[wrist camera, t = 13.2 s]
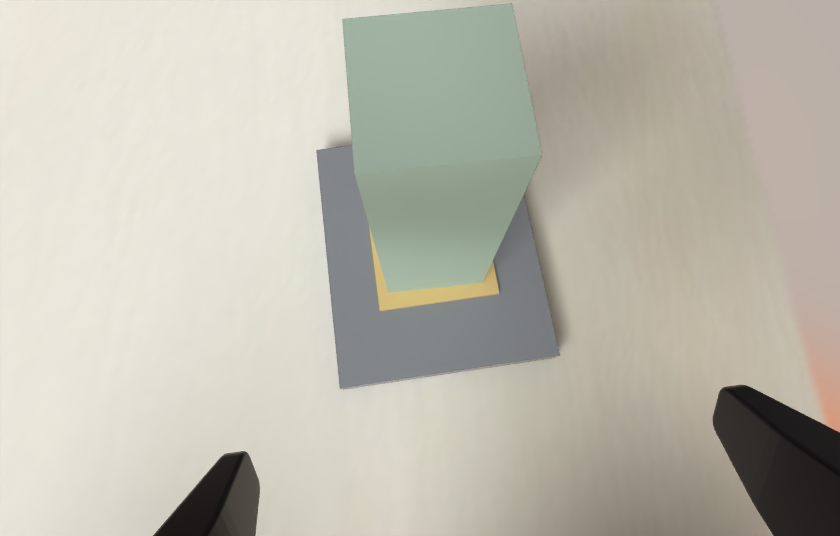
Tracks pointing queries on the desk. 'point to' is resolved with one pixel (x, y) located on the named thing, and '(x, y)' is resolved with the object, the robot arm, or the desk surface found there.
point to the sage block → (439, 138)
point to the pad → (425, 299)
